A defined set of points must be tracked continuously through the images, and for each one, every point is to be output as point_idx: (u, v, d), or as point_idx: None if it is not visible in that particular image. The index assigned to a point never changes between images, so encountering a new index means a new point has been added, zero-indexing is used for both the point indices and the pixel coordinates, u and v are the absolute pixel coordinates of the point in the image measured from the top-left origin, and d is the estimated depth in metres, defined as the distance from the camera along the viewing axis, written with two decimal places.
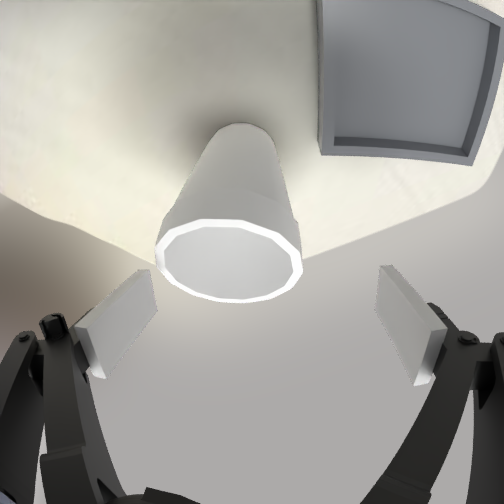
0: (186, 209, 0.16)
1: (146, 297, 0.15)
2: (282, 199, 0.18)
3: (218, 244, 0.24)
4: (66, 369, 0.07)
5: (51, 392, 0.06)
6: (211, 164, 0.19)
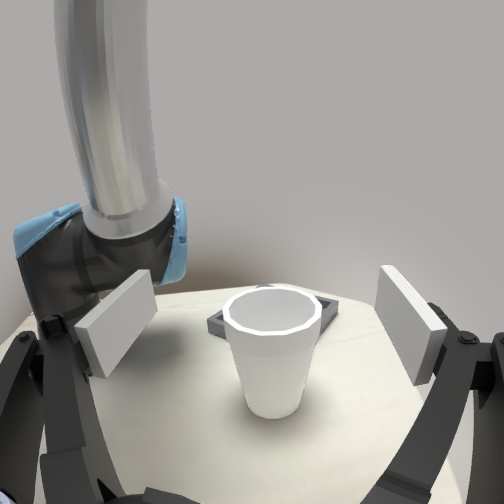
0: None
1: (146, 297, 0.15)
2: None
3: None
4: (65, 368, 0.07)
5: (51, 392, 0.06)
6: None
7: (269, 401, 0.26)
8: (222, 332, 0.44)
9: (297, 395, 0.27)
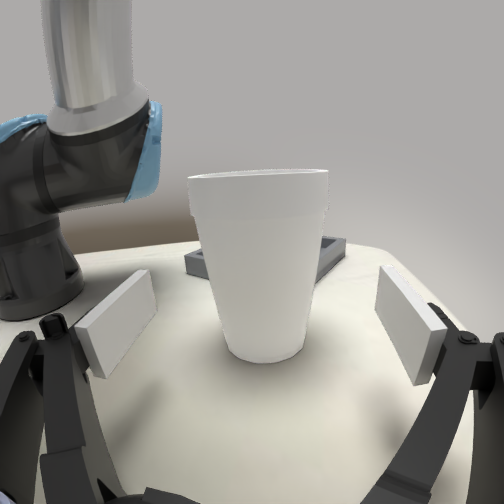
0: None
1: (146, 297, 0.15)
2: None
3: None
4: (66, 368, 0.07)
5: (51, 392, 0.06)
6: None
7: (256, 324, 0.18)
8: (202, 269, 0.35)
9: (301, 318, 0.19)
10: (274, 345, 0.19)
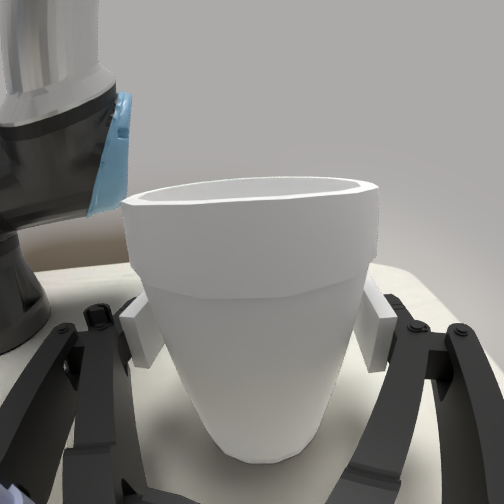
0: None
1: None
2: None
3: None
4: (106, 361, 0.08)
5: (87, 384, 0.07)
6: None
7: (247, 432, 0.10)
8: None
9: (316, 415, 0.11)
10: (274, 450, 0.11)
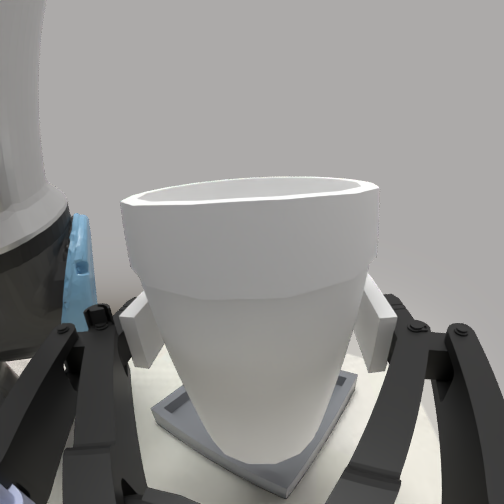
0: None
1: None
2: None
3: None
4: (106, 361, 0.08)
5: (87, 384, 0.07)
6: None
7: (247, 433, 0.10)
8: (173, 431, 0.24)
9: (316, 416, 0.11)
10: (274, 450, 0.11)
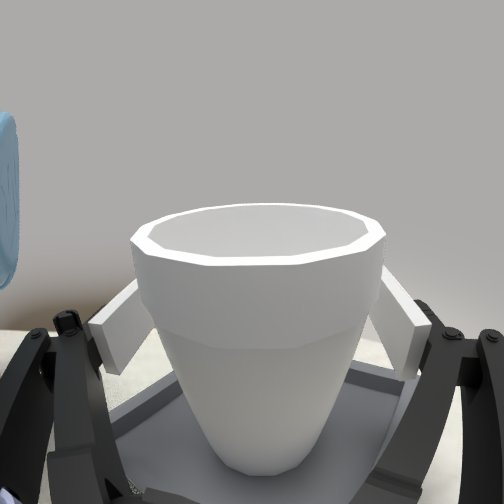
0: None
1: None
2: None
3: None
4: (78, 366, 0.08)
5: (62, 389, 0.06)
6: None
7: (249, 451, 0.10)
8: None
9: (314, 434, 0.11)
10: (274, 465, 0.11)
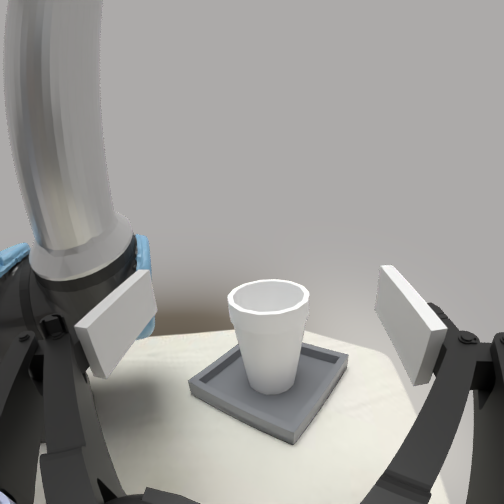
0: None
1: (146, 297, 0.15)
2: None
3: None
4: (66, 369, 0.07)
5: (51, 392, 0.06)
6: None
7: (267, 376, 0.32)
8: (206, 397, 0.33)
9: (291, 371, 0.33)
10: (276, 385, 0.33)
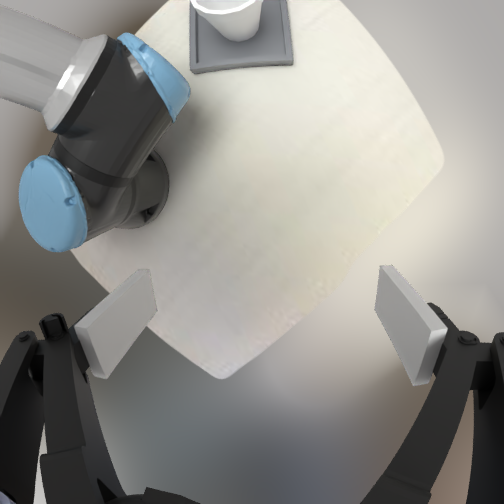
0: None
1: (146, 297, 0.15)
2: None
3: None
4: (65, 368, 0.07)
5: (51, 392, 0.06)
6: None
7: (247, 32, 0.33)
8: (211, 69, 0.39)
9: (259, 19, 0.32)
10: (253, 32, 0.34)
